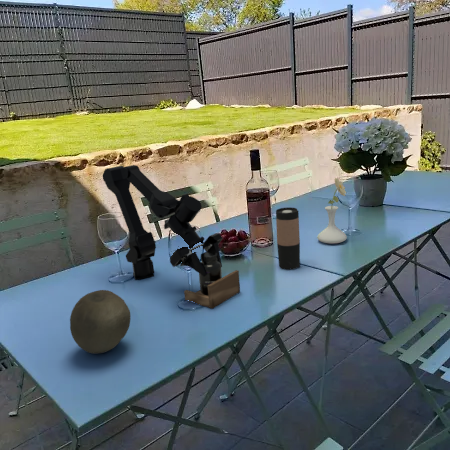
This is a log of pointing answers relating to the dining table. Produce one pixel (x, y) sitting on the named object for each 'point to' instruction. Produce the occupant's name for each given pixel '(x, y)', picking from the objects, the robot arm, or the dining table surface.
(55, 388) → the dining table surface
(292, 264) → the travel mug
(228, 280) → the holder
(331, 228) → the flower in vase
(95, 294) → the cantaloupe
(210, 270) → the supplement bottle
